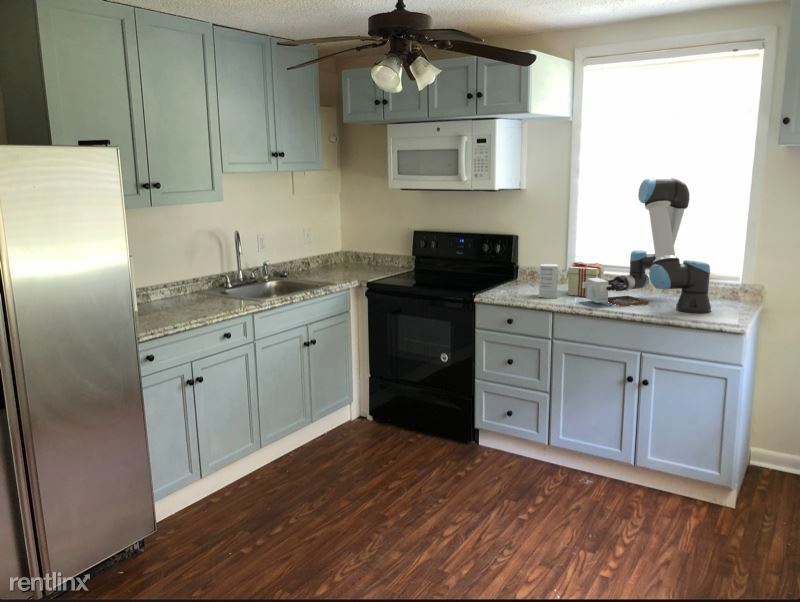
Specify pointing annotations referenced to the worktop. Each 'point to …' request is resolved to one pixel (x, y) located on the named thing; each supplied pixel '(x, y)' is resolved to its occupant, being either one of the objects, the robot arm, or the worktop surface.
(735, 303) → the worktop surface
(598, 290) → the skincare box
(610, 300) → the walnut collar
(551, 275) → the supplement box
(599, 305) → the rubber mat
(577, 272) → the gift box
